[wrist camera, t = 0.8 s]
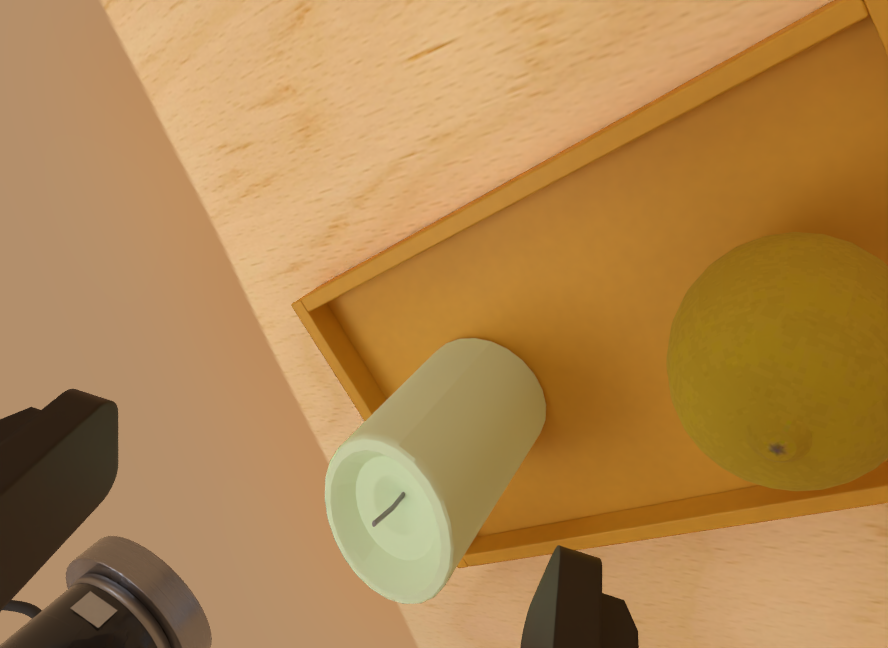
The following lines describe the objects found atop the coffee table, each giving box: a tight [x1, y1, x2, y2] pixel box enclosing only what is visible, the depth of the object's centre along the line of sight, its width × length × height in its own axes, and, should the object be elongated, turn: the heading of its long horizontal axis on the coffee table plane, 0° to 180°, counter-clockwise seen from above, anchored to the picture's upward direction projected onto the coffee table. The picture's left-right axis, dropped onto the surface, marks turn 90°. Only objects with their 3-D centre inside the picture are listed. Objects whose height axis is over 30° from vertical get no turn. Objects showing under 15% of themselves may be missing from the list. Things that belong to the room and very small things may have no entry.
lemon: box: [666, 232, 888, 491], centre depth 17 cm, size 6×6×8 cm
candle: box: [325, 338, 546, 604], centre depth 24 cm, size 5×5×8 cm
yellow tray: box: [291, 0, 888, 568], centre depth 23 cm, size 21×13×2 cm, turn 124°
